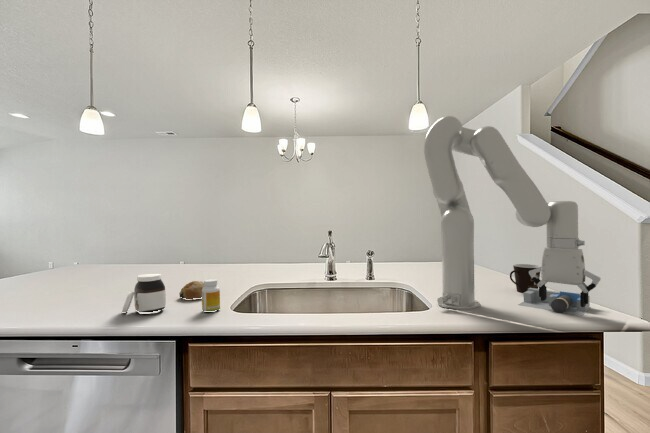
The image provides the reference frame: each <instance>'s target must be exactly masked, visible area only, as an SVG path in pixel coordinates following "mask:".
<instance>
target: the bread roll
mask: <svg viewBox="0 0 650 433" xmlns="http://www.w3.org/2000/svg"><path fill="white" fill-rule="evenodd" d="M204 287H205V286H204V281H202V280H201V281H199V280H192V281H190V282H188V283H186V284H185V285H184V286H183V287H182V288H181V289H180V292H179V298H181V297H182V298H186V299H193V298H201V297H202V289H203V288H204ZM182 298H181V299H182Z"/></svg>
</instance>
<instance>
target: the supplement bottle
mask: <svg viewBox="0 0 650 433" xmlns="http://www.w3.org/2000/svg"><path fill="white" fill-rule="evenodd" d="M203 283H204V286H205V287H204V288H203V289H202V300H201V308H202V309H201V310H203V311H215V310H219V309H220V310H221V289H220V287H219V286H218V279H216V278H215V279H214V278H213V279H212V278H211V279H204V280H203ZM220 310H219V311H220ZM203 311H202V312H203Z"/></svg>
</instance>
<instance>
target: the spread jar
mask: <svg viewBox="0 0 650 433" xmlns="http://www.w3.org/2000/svg"><path fill="white" fill-rule="evenodd" d="M162 278H163V277H162V273H145V274H139V275H137V279H136V280H137V282H136V284H135V286H134V289H133V290H134V291H129V292H128V294H127V296H126V298H125V301H124V305H123V307H122V310H121V313H122V312H127V311H129V310H128V309H130V307H131V304H132V302H133V300H134V309H135V311H136V310H137V311H139V312H153V311H158V310H162V309H164V308H166V304H167V303H166V302H167V300H166V299H167V298H166V296H167V294H166V286H165V283H164V282H163V280H162ZM133 298H134V299H133ZM164 310H165V309H164ZM127 313H128V312H127Z"/></svg>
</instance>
